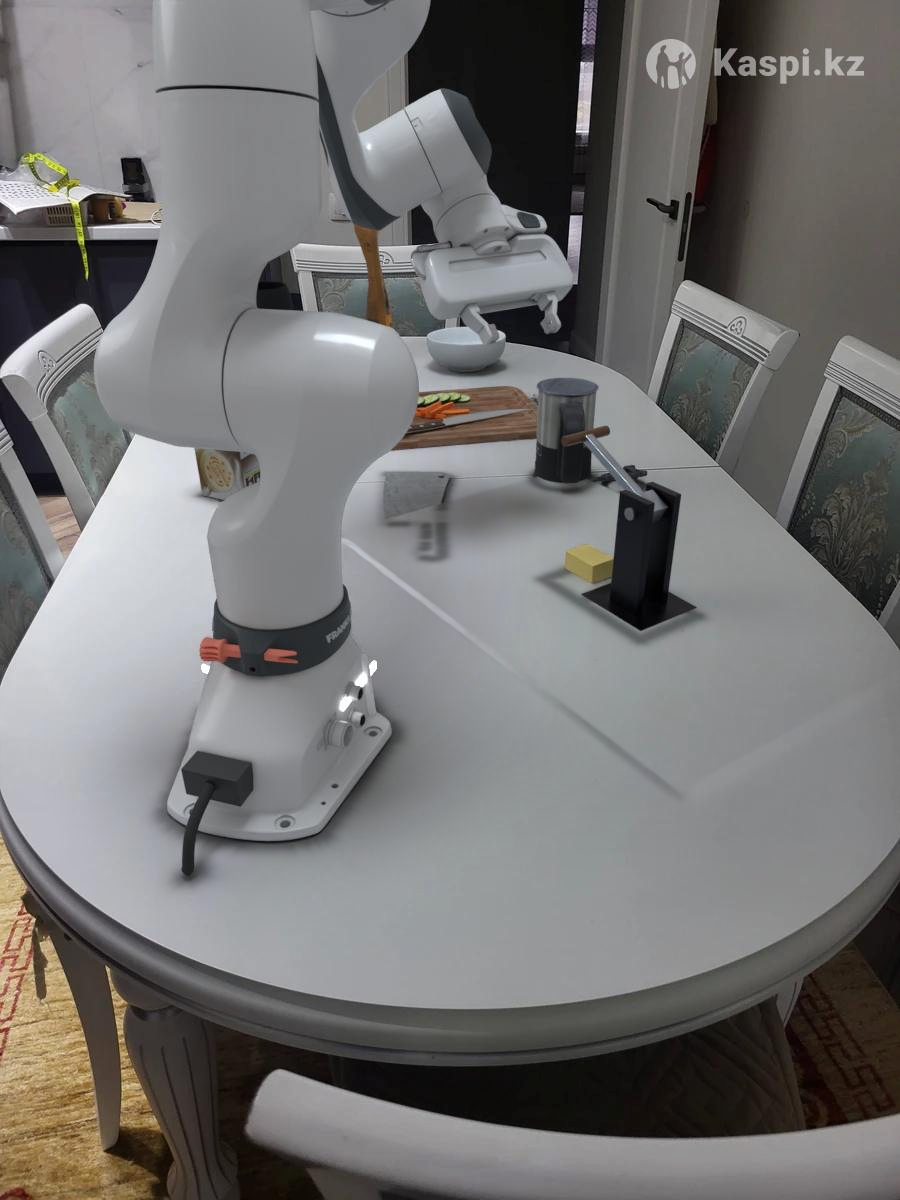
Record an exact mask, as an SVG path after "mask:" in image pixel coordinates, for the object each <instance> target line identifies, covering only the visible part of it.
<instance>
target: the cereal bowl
mask: <svg viewBox="0 0 900 1200" xmlns="http://www.w3.org/2000/svg"><path fill="white" fill-rule="evenodd" d="M496 331H498V333H499V339H498V340H497V341H496V343H494V344H489V345H483V343H482V341H481V339H480V337H479V335H478V334H476V333H475V332H474V331H473V330H471V329H470V328H469V327H468V326H453V327H444V328H440V329H437V330H433V331H431V332H429V333H428V334H427V335H426V345H427V346H426V347H427V350H428V352H429V355H430V357H432V359H433V360H434V361H435V362H436V363H438V364H439V365H443V366H445V367H447V369H449V370H450V371H454V372H458V373H459V372H460V373H472V372H473V373H474V372H479V371H482V370H484V369H485V367H487V366H490V365H491V364H494V363H495V362H497V361H499V359H500V358H501V357H502V355H503V354H504V352H505V348H506V342H507V339H506V338H507V336H506V334H505V332H503V331H502V330H498V329H496Z"/></svg>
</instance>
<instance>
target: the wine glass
mask: <svg viewBox="0 0 900 1200" xmlns="http://www.w3.org/2000/svg"><path fill="white" fill-rule="evenodd" d="M256 305H257V308H259V309H276V310H294V304H293V299H292V296H291V293H290V289H289V288H288V285H287V283H285V282H282V281H273V280H272V281H269V280H268V281H265V280H264V281H263V280H262V281H259V282H258V286H257V294H256Z"/></svg>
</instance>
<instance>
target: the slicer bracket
mask: <svg viewBox="0 0 900 1200" xmlns="http://www.w3.org/2000/svg"><path fill="white" fill-rule="evenodd" d="M649 490H653V491H654V492H655V493H656V494H657V495H658V496H659V497H660V498H661V500H662V501H663V502H664V503H665V504H666V505H667V506H668V508H667V509H666V511H665V513H664V514H663V516H662V518H661V519H660V521H659V522H656V523H653V514H654V506H655V503H654V502H652V501H650V500H648V499H645V498H643V497H641V496H639V495H637V494H635V493H632V492H630V491H628V490H624V489H623V490H621V491H619V497H618V507H617V517H616V529H615V537H614V538H615V539H614V550H613V558H614V559H613V569H612V577H611V582H610V583H606V584H604V585H601V586H599V587H596V588H594V589H591V590H588V591H586V592H585V591H584V592H583V593H580V595H581V596H582V597H584V598H585V599H588V600H589V601H591V602H592V603H594V604H596V605H597V606H598V607H600V608H602V609H604V610H605V611H607V612H609V613H610V614H612V615H614V616H615V617H617V618H618V619H620V620H622V621H623V622H624V623H626V624H628V625H630V626H631V627H633V628H635V629H636V630H638V631H640V632H642V631H644V630H645V631H646V630H647V629H649V628H652V627H655V626H657V625H659V624H662V623H664V622H666V621H669V620H672V619H673V618H676V617H678V616H681V615H684V614H685V613H686V614H687V613H688V612H690V611H693V610H695V609H697V608H698V607H697V606H696V605H694V604H692V603H690V602H688V600H687V601H686V600H685V599H683V598H681V597H679V596H678V595H676V594H674V593H672V592H670V584H671V582H670V581H671V577H672V576H671V575H672V568H673V562H674V561H673V560H674V552H675V546H676V545H675V544H676V540H677V539H676V538H677V530H678V523H679V516H680V507H681V500H682V493H680V492H677V491H675V490H672V489H670V488H668V487H666V486H664V485H662V484H659V483H656V482H655V481H649V482H646V484H645V491H644V492H646V491H649ZM652 523H653V524H652Z"/></svg>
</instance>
